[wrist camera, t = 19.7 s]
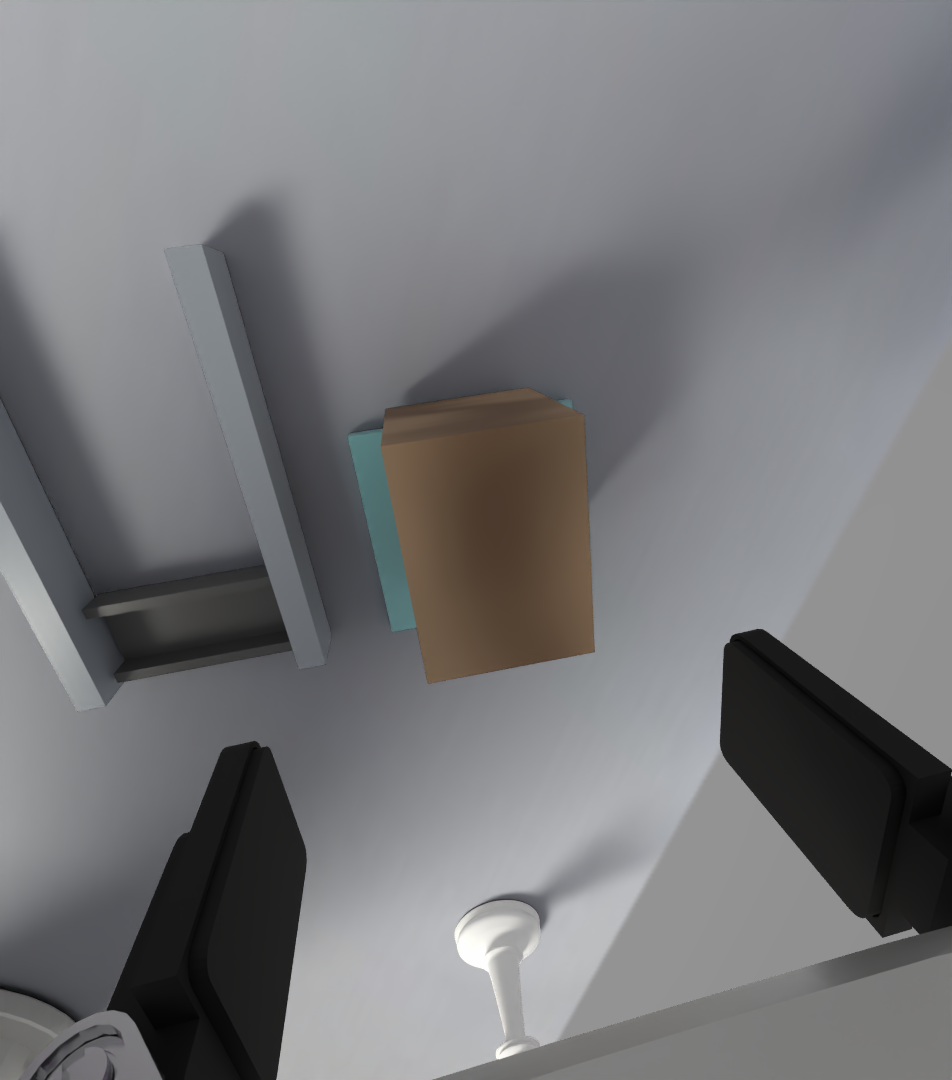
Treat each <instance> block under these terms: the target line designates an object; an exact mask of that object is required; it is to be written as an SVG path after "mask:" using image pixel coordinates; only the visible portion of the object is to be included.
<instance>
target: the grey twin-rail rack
mask: <svg viewBox="0 0 952 1080" xmlns="http://www.w3.org/2000/svg"><path fill="white" fill-rule="evenodd" d="M164 251H165V255H166V258H167V261H168V264H169V267H170V270H171V273H172V276H173V279H174V283H175V286H176V289H177V292H178V295H179V298H180V301H181V304H182V307H183V311H184V314H185V317H186V320H187V323H188V326H189V329H190V332H191V335H192V339H193V342H194V345H195V348H196V351H197V354H198V357H199V360H200V363H201V367H202V370H203V373H204V376H205V379H206V382H207V385H208V388H209V391H210V395H211V398H212V401H213V404H214V407H215V410H216V413H217V416H218V419H219V423H220V426H221V429H222V432H223V435H224V438H225V441H226V444H227V447H228V451H229V454H230V457H231V460H232V463H233V466H234V469H235V472H236V475H237V479H238V482H239V485H240V488H241V491H242V494H243V497H244V500H245V503H246V507H247V510H248V513H249V516H250V519H251V522H252V525H253V528H254V531H255V535H256V538H257V541H258V544H259V547H260V550H261V553H262V556H263V559H264V563H265V565H262V566H256V567H250V568H245V569H239V570H233V571H227V572H222V573H216V574H210V575H204V576H199V577H193V578H187V579H181V580H176V581H170V582H164V583H159V584H153V585H147V586H141V587H136V588H130V589H124V590H118V591H113V592H107V593H101V594H99V595H97V596H96V597H94V594H93V592H92V590H91V588H90V586H89V584H88V582H87V580H86V578H85V576H84V573H83V571H82V569H81V567H80V565H79V563H78V561H77V559H76V557H75V555H74V552H73V550H72V548H71V546H70V544H69V542H68V540H67V538H66V536H65V534H64V531H63V529H62V527H61V525H60V523H59V521H58V519H57V517H56V515H55V513H54V510H53V508H52V506H51V504H50V502H49V500H48V498H47V496H46V494H45V492H44V489H43V487H42V485H41V483H40V481H39V479H38V477H37V475H36V473H35V471H34V468H33V466H32V464H31V462H30V460H29V458H28V456H27V454H26V452H25V450H24V447H23V445H22V443H21V441H20V439H19V437H18V435H17V433H16V431H15V429H14V426H13V424H12V422H11V420H10V418H9V416H8V414H7V412H6V410H5V408H4V405H3V403H2V401H1V399H0V571H1V573H2V575H3V576H4V578H5V580H6V582H7V584H8V586H9V587H10V589H11V591H12V593H13V595H14V597H15V598H16V600H17V602H18V604H19V606H20V608H21V610H22V611H23V613H24V615H25V617H26V619H27V621H28V622H29V624H30V626H31V628H32V630H33V632H34V633H35V635H36V637H37V639H38V641H39V643H40V644H41V646H42V648H43V650H44V652H45V654H46V655H47V657H48V659H49V661H50V663H51V665H52V666H53V668H54V670H55V672H56V674H57V676H58V677H59V679H60V681H61V683H62V685H63V687H64V688H65V690H66V692H67V694H68V696H69V698H70V700H71V701H72V703H73V705H74V707H75V709H76V711H77V712H79V711H84V710H90V709H95V708H100V707H106V705H107V704H108V703H109V701H110V700H111V699H112V698H113V696H114V695H115V694H116V692H117V691H118V690H119V688H120V687H121V686H122V684H123V683H124V682H125V681H131V680H136V679H141V678H147V677H152V676H157V675H163V674H168V673H173V672H179V671H184V670H189V669H195V668H200V667H205V666H211V665H216V664H221V663H227V662H232V661H237V660H243V659H248V658H254V657H259V656H264V655H270V654H275V653H280V652H286V651H291V650H293V653H294V656H295V659H296V662H297V665H298V668H299V670H300V669H306V668H311V667H316V666H321V665H326V661H327V656H328V652H329V647H330V642H331V637H332V635H331V631H330V628H329V624H328V621H327V617H326V614H325V610H324V607H323V603H322V599H321V596H320V592H319V589H318V585H317V582H316V578H315V575H314V571H313V568H312V564H311V561H310V557H309V553H308V550H307V546H306V543H305V539H304V536H303V532H302V529H301V525H300V522H299V518H298V515H297V511H296V508H295V504H294V500H293V497H292V493H291V490H290V486H289V483H288V479H287V476H286V472H285V469H284V465H283V462H282V458H281V454H280V451H279V447H278V444H277V440H276V437H275V433H274V430H273V426H272V423H271V419H270V416H269V412H268V409H267V405H266V401H265V398H264V394H263V391H262V387H261V384H260V380H259V377H258V373H257V370H256V366H255V363H254V359H253V355H252V352H251V348H250V345H249V341H248V338H247V334H246V331H245V327H244V324H243V320H242V317H241V313H240V310H239V306H238V302H237V299H236V295H235V292H234V288H233V285H232V281H231V278H230V274H229V271H228V267H227V264H226V260H225V256H224V253H222V252H220V251H217V250H215V249H212V248H210V247H207V246H205V245H203V244H198V245H190V246H182V247H175V248H167V249H164Z"/></svg>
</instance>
